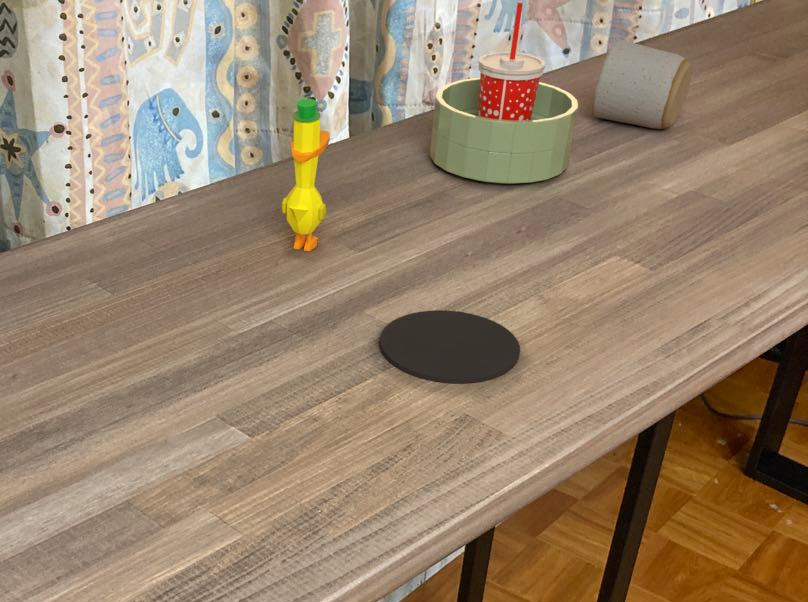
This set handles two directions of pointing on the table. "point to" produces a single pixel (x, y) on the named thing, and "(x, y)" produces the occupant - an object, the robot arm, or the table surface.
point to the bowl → (502, 136)
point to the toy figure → (306, 175)
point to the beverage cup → (509, 81)
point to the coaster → (449, 346)
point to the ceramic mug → (642, 85)
